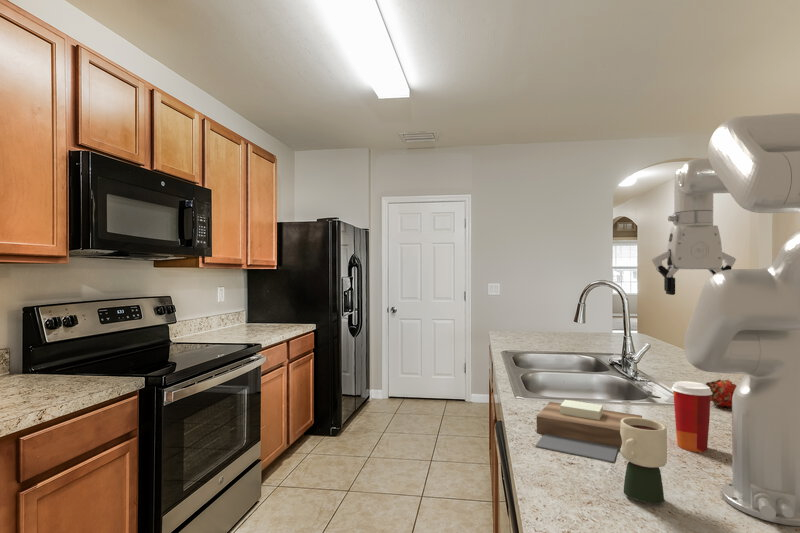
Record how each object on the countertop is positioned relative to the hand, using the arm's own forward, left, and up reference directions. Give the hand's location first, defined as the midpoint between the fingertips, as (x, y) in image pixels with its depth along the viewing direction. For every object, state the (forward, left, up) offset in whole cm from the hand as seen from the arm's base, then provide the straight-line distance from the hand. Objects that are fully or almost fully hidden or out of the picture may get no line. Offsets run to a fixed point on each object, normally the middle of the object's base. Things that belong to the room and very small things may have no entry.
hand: (693, 294), depth 103 cm
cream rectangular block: (-4, +24, -30) cm, 38 cm away
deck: (-5, +22, -34) cm, 41 cm away
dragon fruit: (+38, -8, -34) cm, 52 cm away
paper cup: (-3, +1, -34) cm, 34 cm away
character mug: (-34, +9, -34) cm, 49 cm away
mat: (-17, +23, -34) cm, 44 cm away
